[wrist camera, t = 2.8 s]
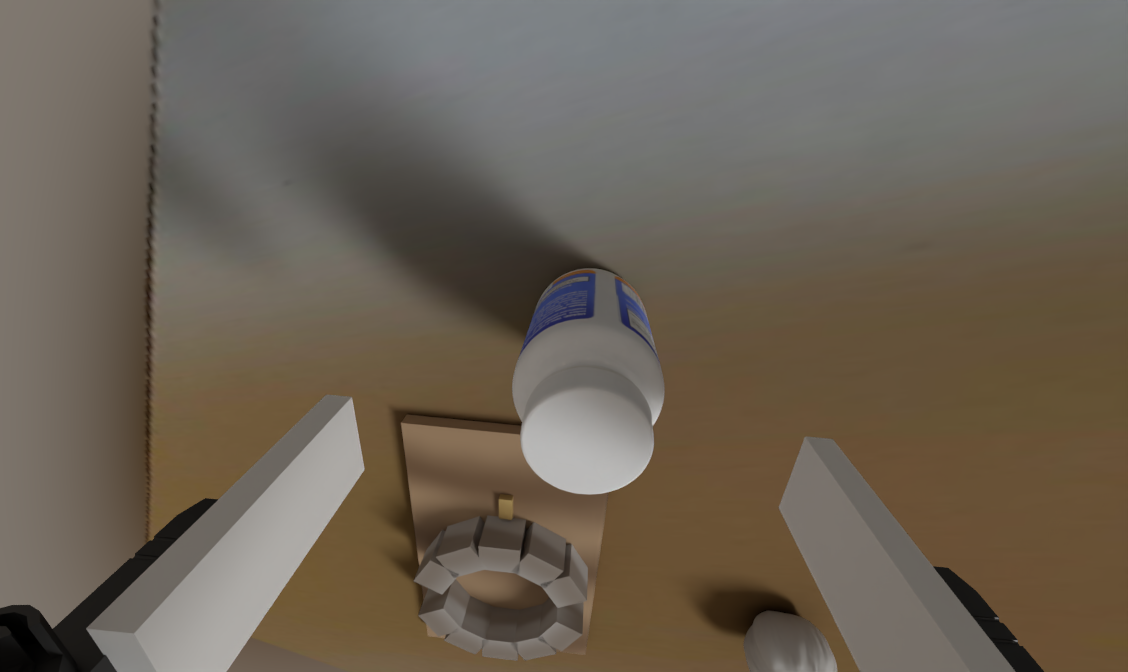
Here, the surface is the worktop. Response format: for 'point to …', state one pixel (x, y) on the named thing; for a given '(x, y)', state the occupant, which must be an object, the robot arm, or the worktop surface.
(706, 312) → the worktop surface
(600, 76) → the worktop surface
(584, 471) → the pill bottle
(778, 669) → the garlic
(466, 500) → the socket board
